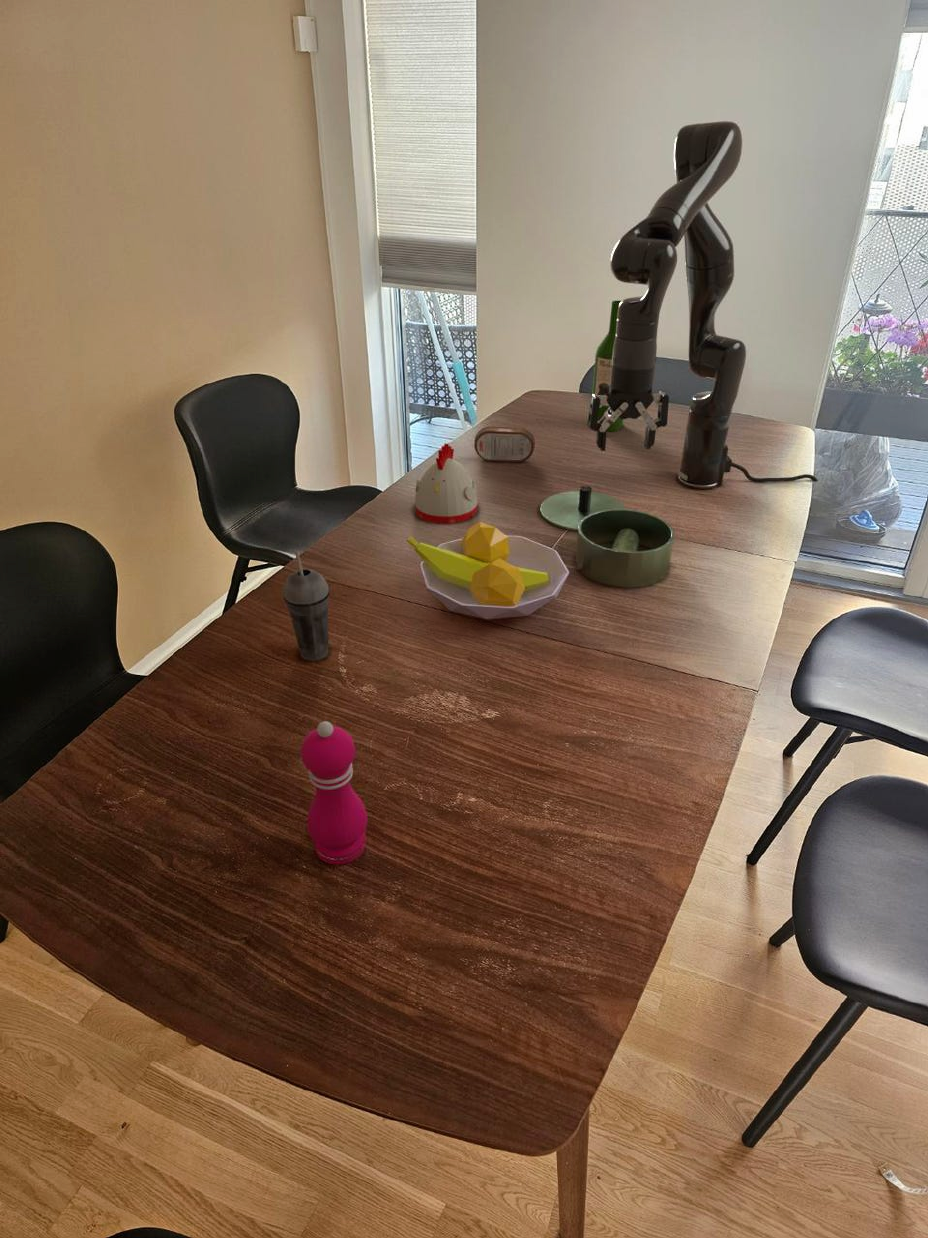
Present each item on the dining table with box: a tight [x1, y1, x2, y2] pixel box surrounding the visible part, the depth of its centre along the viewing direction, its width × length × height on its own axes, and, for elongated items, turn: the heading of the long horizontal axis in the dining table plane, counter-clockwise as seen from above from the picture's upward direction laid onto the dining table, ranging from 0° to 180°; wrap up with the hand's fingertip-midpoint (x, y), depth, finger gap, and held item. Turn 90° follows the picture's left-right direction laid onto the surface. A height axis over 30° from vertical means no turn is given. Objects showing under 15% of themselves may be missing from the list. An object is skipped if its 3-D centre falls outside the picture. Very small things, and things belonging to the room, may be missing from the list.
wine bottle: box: [591, 300, 624, 432], centre depth 212 cm, size 9×9×32 cm
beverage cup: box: [283, 549, 331, 662], centre depth 128 cm, size 7×7×20 cm
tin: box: [473, 426, 536, 463], centre depth 199 cm, size 15×3×8 cm, turn 84°
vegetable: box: [610, 529, 640, 552], centre depth 156 cm, size 14×5×5 cm, turn 161°
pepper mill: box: [300, 720, 369, 866], centre depth 94 cm, size 7×7×20 cm
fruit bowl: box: [406, 521, 570, 620], centre depth 146 cm, size 28×27×11 cm
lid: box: [539, 485, 628, 532], centre depth 174 cm, size 19×19×6 cm
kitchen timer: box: [414, 443, 479, 524], centre depth 174 cm, size 14×14×15 cm
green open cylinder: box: [575, 508, 675, 589], centre depth 156 cm, size 18×18×8 cm
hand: (624, 448), depth 151 cm, fingers open, 8 cm apart
